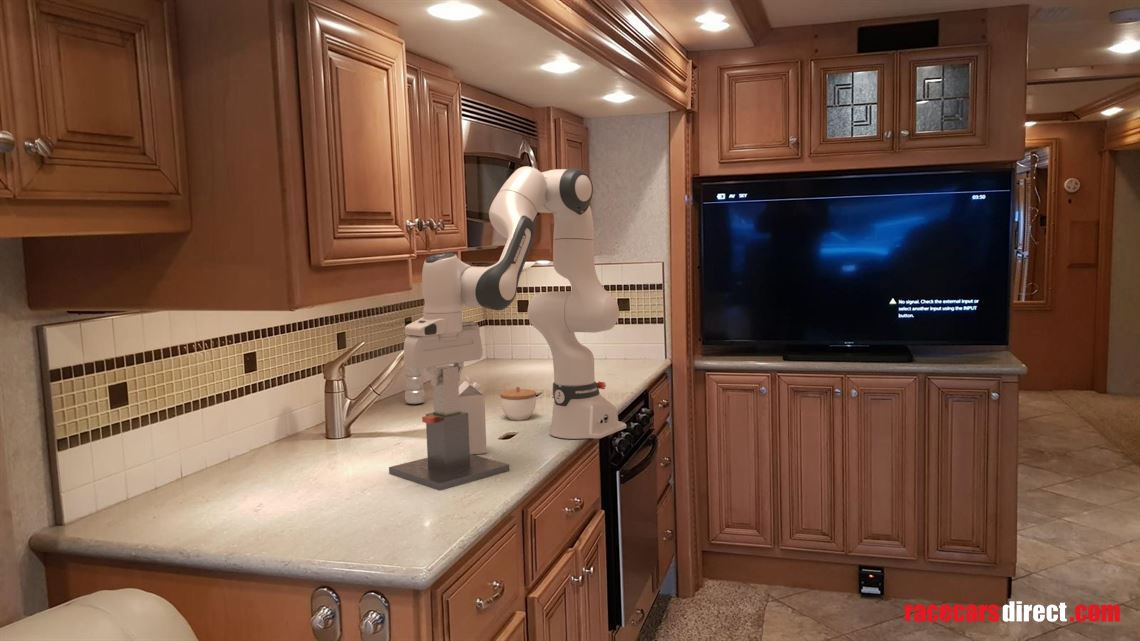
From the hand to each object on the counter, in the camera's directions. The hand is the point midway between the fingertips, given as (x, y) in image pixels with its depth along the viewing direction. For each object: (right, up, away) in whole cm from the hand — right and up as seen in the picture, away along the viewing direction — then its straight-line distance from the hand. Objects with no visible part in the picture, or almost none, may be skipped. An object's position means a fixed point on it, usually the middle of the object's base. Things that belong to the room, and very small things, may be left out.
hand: (445, 383), depth 203 cm
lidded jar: (+14, -15, +58) cm, 62 cm away
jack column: (0, -14, +2) cm, 14 cm away
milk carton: (+3, -19, +21) cm, 28 cm away
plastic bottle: (-22, -13, +83) cm, 87 cm away
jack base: (+1, -21, +2) cm, 21 cm away
